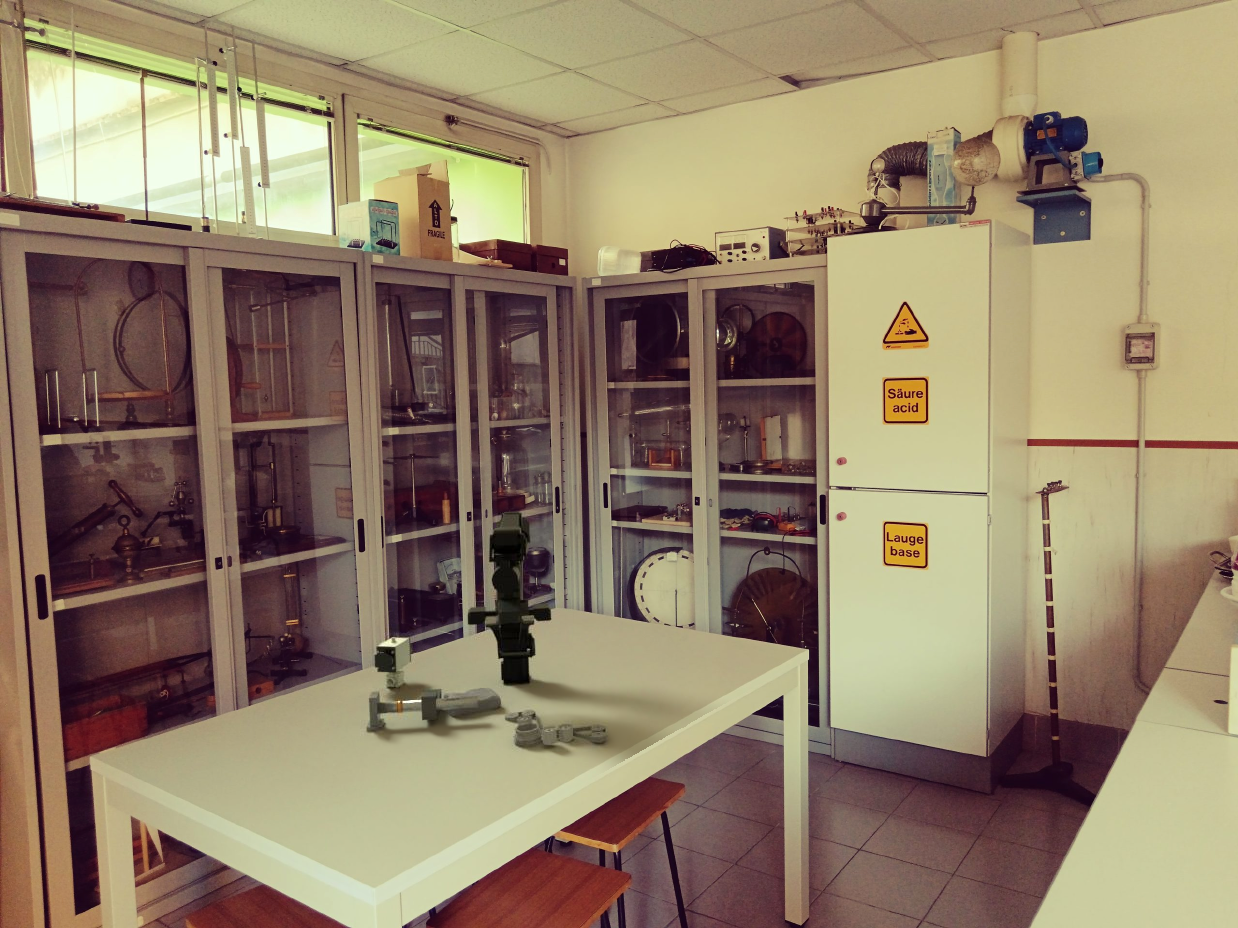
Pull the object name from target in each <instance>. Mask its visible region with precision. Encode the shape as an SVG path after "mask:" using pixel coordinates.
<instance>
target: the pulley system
mask: <svg viewBox="0 0 1238 928" xmlns="http://www.w3.org/2000/svg"><path fill="white" fill-rule="evenodd" d="M533 719H535V720H536V722H533ZM504 720H505V721H507V722H511V723H515V724H517V726H516V727H515V728H514V731H515V733H514V735H513V743H514V746H516V747H521V748H534V747H537V746H540V745H544V746H551V745H555V744H557V743H558V739H559V741H560V742H561V743H570V742H572V741H573V740H574V737H575V738H579V739H581V740H582V739H583V740H586V741H589V742H592V743H596V744H602V743H603V742H606V741H607V727H606V725H604V724H595V725H589V726H579V727H573V724H571V723H564V724H560V725H559V726H558V729H557V728H556V726H553V725H546V726H544V727H543V728H542V726H541V723H540V721H539V718H538V716H537V713H536V711H535V710H534V709H525V710H524V711H518V712H517V711H516V712H509V713H507V714H505V715H504ZM589 731H590V732H591V735H587V734H582V733H583V732H589ZM580 732H582V733H580Z"/></svg>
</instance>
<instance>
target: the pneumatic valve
mask: <svg viewBox="0 0 1238 928" xmlns="http://www.w3.org/2000/svg"><path fill="white" fill-rule="evenodd" d="M375 648H376V649H375V650H376V653H375V654H374V658H373V659H374V668H377V671H376V672H377V673H386V674H385V677H386V679H385V680H386V681H385V682H386V684H385V686H386V688H398V689H399V688H400V687H401V686H403V685H404V684H405V682H406V681H405V680H404V679H405V670H404V669H403V668H405V667H406V666H407V665H409V664H410V663H411V662H412V653H413V645H412V643H411V637H408V636H407V637H403V636H399V637H398V636H392V637H391V638H390V637H389V639H387V640H384V641H382V642H380V643H379V644H378V645H377V646H376V647H375Z"/></svg>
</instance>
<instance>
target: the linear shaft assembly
mask: <svg viewBox="0 0 1238 928" xmlns="http://www.w3.org/2000/svg"><path fill="white" fill-rule="evenodd" d="M380 697H381V696H380V691H371V693H370V695H369V697H368V708H369V710H368V711H369V720H368V723H367V726H366V732H376V731H378V732H379V731H382V729H383V726H384V724H385V718H381V715H383V714H403V713H412V712H414V713H417V712H422V705H421V699H412V700H397V701H394V700H393V701H384V702H383V701H381V700H380V699H381V698H380ZM464 708H478V697H477V696H474V697H458V698H444V697H442V699H436V710H439V711H445V710H448V709H464Z"/></svg>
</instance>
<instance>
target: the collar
mask: <svg viewBox="0 0 1238 928" xmlns="http://www.w3.org/2000/svg"><path fill="white" fill-rule="evenodd" d="M442 698H443V697H442V688H438V689H437V688H436V689H427V690H423V691H422V695H421V697H420V700H421V705H422V711H421V720H422V721H430V720H437V718H438V715H439V712H440V710H436V699H442Z"/></svg>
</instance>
